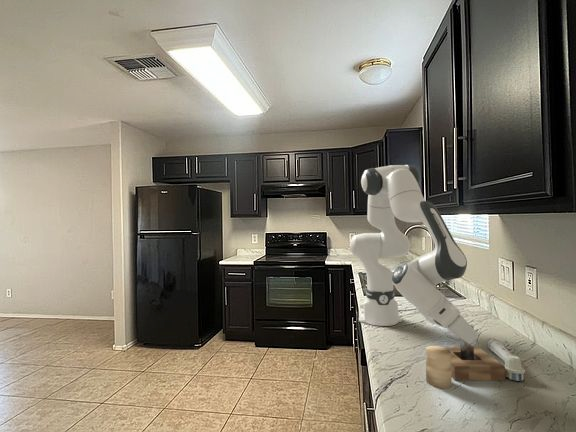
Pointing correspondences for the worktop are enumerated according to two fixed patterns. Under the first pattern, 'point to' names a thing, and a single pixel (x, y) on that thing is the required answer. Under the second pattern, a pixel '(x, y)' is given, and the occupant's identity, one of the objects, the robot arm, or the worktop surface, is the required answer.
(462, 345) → the cylinder
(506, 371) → the toothbrush head
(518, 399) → the worktop surface
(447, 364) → the fat post
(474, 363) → the socket block
